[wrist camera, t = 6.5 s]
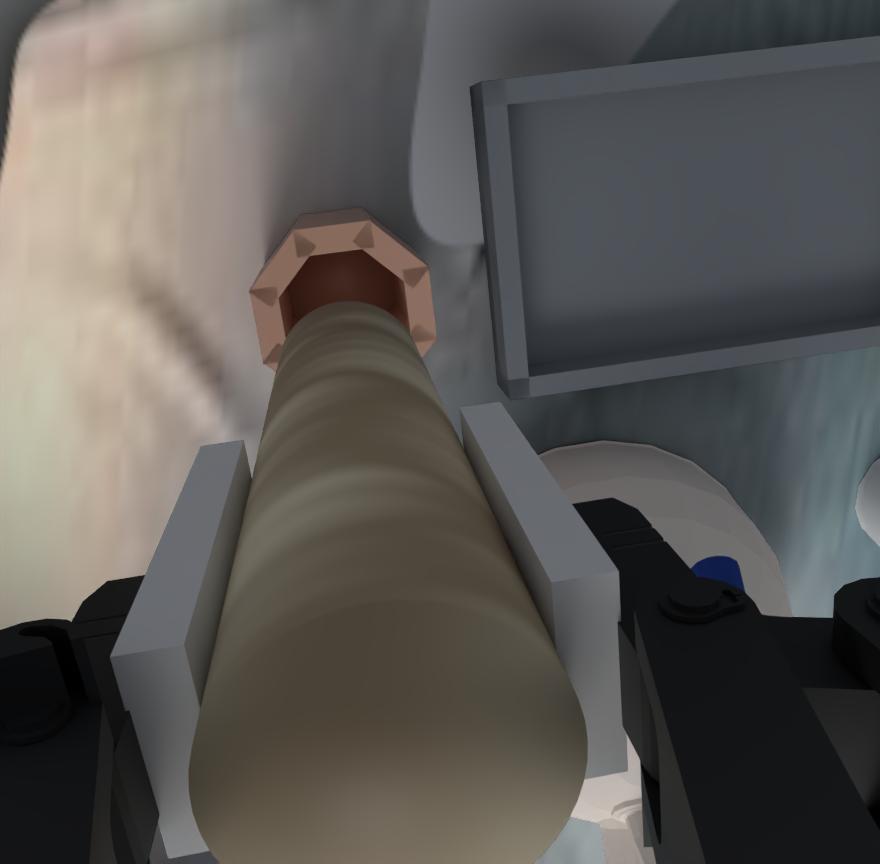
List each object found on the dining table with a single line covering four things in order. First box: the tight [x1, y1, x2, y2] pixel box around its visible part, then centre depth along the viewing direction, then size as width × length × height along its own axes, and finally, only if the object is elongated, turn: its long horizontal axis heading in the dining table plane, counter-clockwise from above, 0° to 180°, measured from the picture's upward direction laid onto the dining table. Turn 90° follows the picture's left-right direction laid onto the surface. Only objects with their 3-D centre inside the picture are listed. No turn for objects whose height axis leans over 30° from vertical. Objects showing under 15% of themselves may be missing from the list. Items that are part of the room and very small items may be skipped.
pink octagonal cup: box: [249, 207, 437, 372], centre depth 35 cm, size 7×7×8 cm
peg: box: [188, 301, 588, 864], centre depth 16 cm, size 4×4×16 cm
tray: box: [470, 36, 880, 400], centre depth 39 cm, size 22×14×3 cm, turn 96°
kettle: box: [538, 440, 792, 864], centre depth 38 cm, size 20×21×18 cm
